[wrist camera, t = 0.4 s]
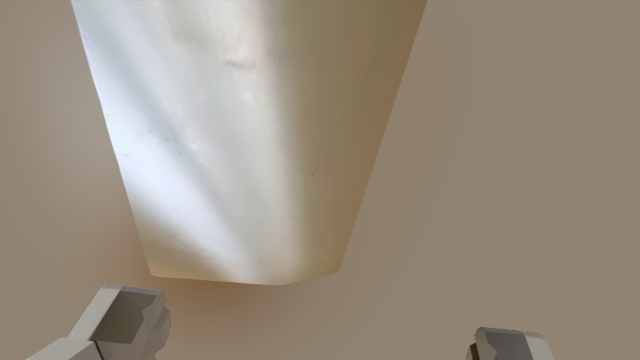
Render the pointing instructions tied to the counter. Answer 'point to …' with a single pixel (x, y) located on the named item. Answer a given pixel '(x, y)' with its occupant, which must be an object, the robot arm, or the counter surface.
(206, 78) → the counter surface
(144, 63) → the counter surface
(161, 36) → the counter surface
